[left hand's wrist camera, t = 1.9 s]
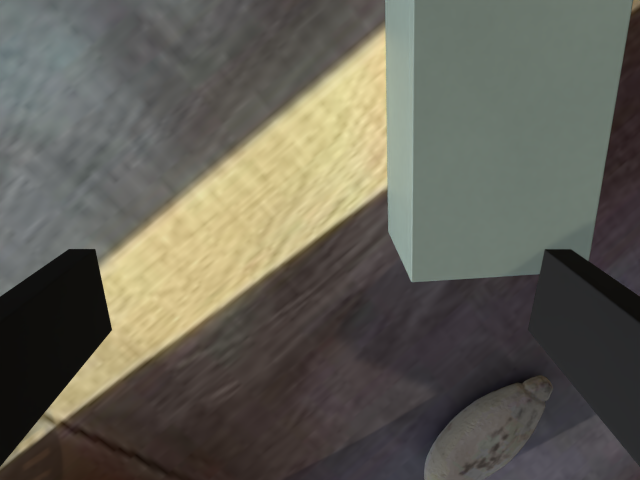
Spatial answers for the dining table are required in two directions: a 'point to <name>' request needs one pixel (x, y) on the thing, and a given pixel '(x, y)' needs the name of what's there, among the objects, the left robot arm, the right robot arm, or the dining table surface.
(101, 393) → the dining table surface
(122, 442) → the dining table surface
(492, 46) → the cabinet
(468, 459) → the decorative stone
